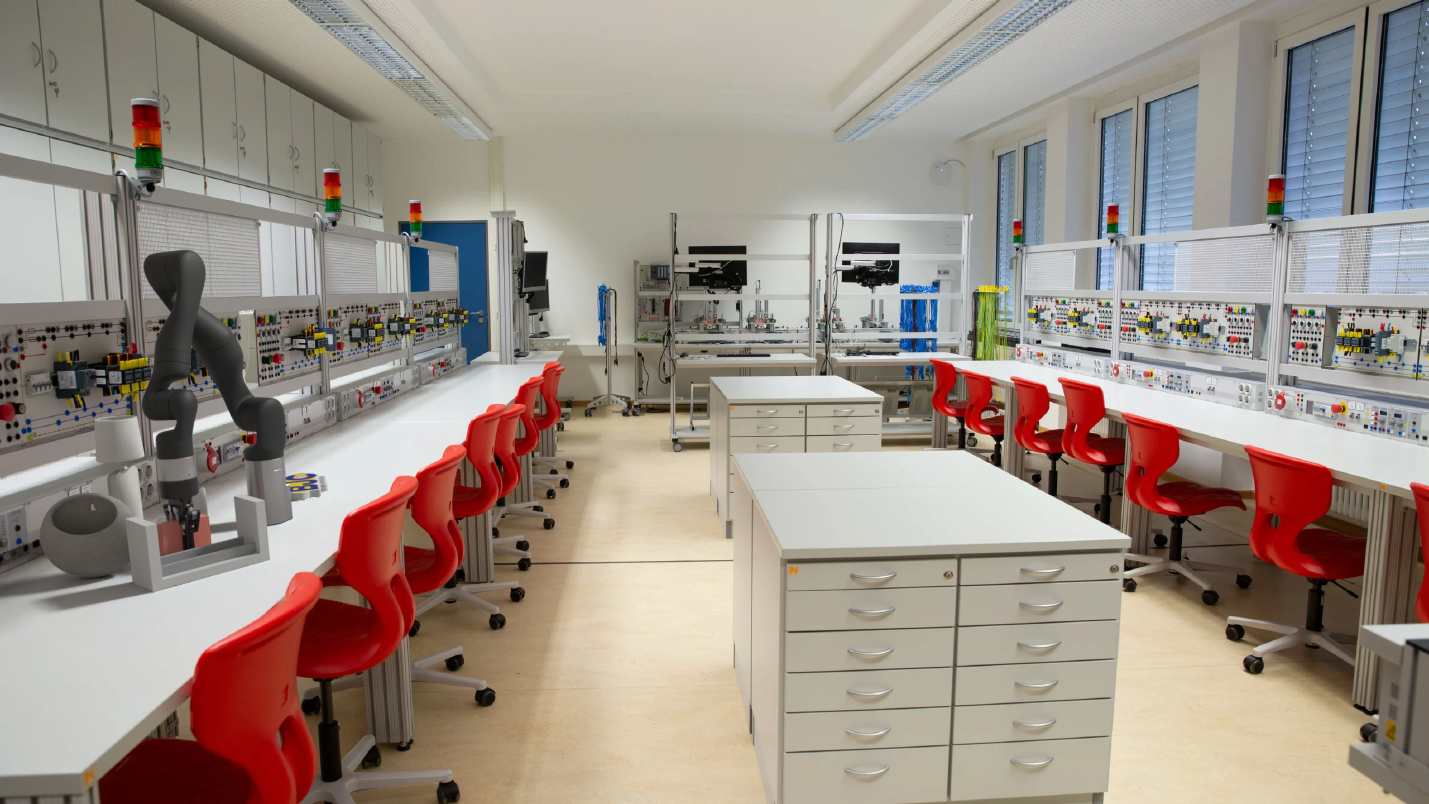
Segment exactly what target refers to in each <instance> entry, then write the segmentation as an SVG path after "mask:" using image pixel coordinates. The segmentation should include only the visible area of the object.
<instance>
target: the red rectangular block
mask: <svg viewBox="0 0 1429 804" xmlns="http://www.w3.org/2000/svg"><path fill="white" fill-rule="evenodd" d="M185 521H186V520H182V522H185ZM157 533H158V542H159V550H160V557H161V556H165V555H169V554H173V553H177V552H181V551H184V550H183V542H182V534H181V528H180V526H178V523H177V520H174V521H168V522H163V523H159V524H157ZM193 534H194V543H195V548H197V547H201V546H205V545H209V544H213V543H212V533H211V524H210V516H209V514H208V515H205V514H200V522H199V530H198V532H195V533H193Z"/></svg>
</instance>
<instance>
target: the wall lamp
mask: <svg viewBox="0 0 1429 804" xmlns="http://www.w3.org/2000/svg"><path fill="white" fill-rule="evenodd" d="M138 421H139V420H138V417H137V415H133V414H132V415H131V414H130V415H127V414H126V415H114V416H113V415H112V416H103V417H99V418H95V419H94V440H95V441H94V442H95V443H94V444H95V461H96V463H101V464H105V463H106V464H111V463H112V464H113V463H117V465H118V468H117V469H114V470H112V471H111V472H109V473H108V474H107V477H106V486H107V495H109V496H112V497H114V498H116V499H118V500H120V501H122V502H123V503H124V504H125V505H127V506H128V507H129V508H130V509H131V511H132V512H133V513H134V515H135V516H136V517H138V518H141V519H144V512H143V502H142V495H141V486H140V478H139V477H140V476H139V471H138V467H137V466H136V465H132V466H130V467H128V466H126V465H125V462H129V461H134V460H135V461H136V460H139V459H142V458H144V457H145V451H144V446H143V442H142V436H141V431H140V426H139V422H138ZM192 502H193V504H194V508H195V510H200V514H205V515H208V516H209V510H208V503H207V492H206V488H205V487H204V486H201V487H199V493H198V494H197V495H195V496H193V497H192ZM174 519H175V517H174ZM163 522H167V519H166V516H165V517H160V518H157V519H156V520H155V522H154V523H155V524H159V523H163Z"/></svg>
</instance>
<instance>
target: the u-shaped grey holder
mask: <svg viewBox="0 0 1429 804" xmlns="http://www.w3.org/2000/svg"><path fill="white" fill-rule="evenodd" d="M233 503H234V512H235V513H234V514H235V525H236V533H237V534H236V535H237V537H234V538H229V539H227V540H226V539H225V540H221V541H218V542H215V543H212V544H209V545H205V546H201V547H197V548H193V549H189V550H185V551H181V552H177V553H173V554H169V555H165V556H161V557H160V550H159V542H158V533H157V524H155V522H152V521H149V520H146V519H144V518H143V519H141V518H138V517H131V518H127V519H125V523H126V531H127V539H128V548H129V556H130V562H129V563H130V570H131V571H130V574H131V581H132V583H133V584H135V585H137V586H139V587H141V588H143V589H146V590H147V589H148V591H150V592H152V593H155V591H156V592H159V591H162V589H163V590H166V589H169V588H173V587H176V586H175V585H177V586H180V585H179V584H181V585H183V584H188V583H191V582H195V581H199V580H202V579H205V578H206V579H207V578H210V577H213V576H217V575H220V574H223V573H227V572H229V571H234V570H238V569H242V568H244V567H248V566H252V565H256V564H259V563H263V562H266V561H270V560H271V558H270V557H271V556H270V547H269V546H270V545H269V543H270V542H269V536H268V534H269V533H268V525H267V522H266V511H265V500H262V499H258V498H255V497H251V496H248V494H244V493H242V494H236V495H233ZM158 590H159V591H158Z"/></svg>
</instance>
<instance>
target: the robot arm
mask: <svg viewBox="0 0 1429 804" xmlns="http://www.w3.org/2000/svg"><path fill="white" fill-rule="evenodd" d="M143 273H144V275H145V278H146V281H147V282H148V284H149V285H150V287H151V288H152V290H153V291H154V293H155V294H156V295H157V297H158V298H159V299H160V301H162V303H163V304H164V306H165V307H166V308H167V309H168V311H169V312H170V313H169V315H168V317H167V318H166V320H165V321H164V323H163V324H162V327H161V328H160V330H159V332H158V333H157V337H156V340H155V344H154V353H153V354H154V356H153V370H152V371H151V372H152V373H151V375H150V378H149V381H148V384H147V387H146V388H145V391H144V394H143V397H142V399H141V411H142V413H143V414H144V416H145V417H146V418H147V419H149V420H151V421H153V422H159V421H160V422H162V421H176V422H175V426H174V428H172V429H168V430H163V431H161V432H159V433H157V434H156V436H155V449H156V457H157V462H156V465H157V466H156V467H157V468H156V470H157V479H158V488H159V495H160V498H161V499H162V500H166V501H167V502H168V503H164V504H162V508H163V511H164V514H165V517H166V519H167V522H168V521H174V520H177V523H178V526H180V528H181V534H182V542H183V550H184V551H185V550H189V549H193V548H195V543H194V534H193V533H195V532H198V530H199V522H200V510H195V508H194V504H193V502H192V497H193V496H195V495H197V494H198V493H199V488H200V487H199V480H198V479H199V478H198V468H197V463H196V458H195V453H194V452H195V451H194V445H193V444H194V443H193V434H194V429H195V428H194V427H195V422H196V417H197V414H198V407H199V401H198V398H197V397H196V396H197V395H195V393H194V392H193V391H191V390H190V389H186V388H175V389H174V388H173V389H172V388H171V389H169V388H170V386H171V385H172V384H173V383H176V382H179V381H182V380H186V379H187V378H189V377H190V374H191V363H192V362H191V361H192V360H191V359H192V348H193V351H194V352H195V353H196V355H197V356H198V358H199V360H200V362H201V363H202V365H203V366H204V367H205V369H206V371H207V372H208V374H209V376H210V377H211V379H212V381H213V383H214V385H215V386H216V388H217V390H218V392H219V394H220V395H221V398H222V400H223V402H224V403H225V406H226V408H227V411H228V413H229V415H230V417H231V419H232V421H233V423H234V425H236V426H237V427H238V429H240V430H241V431H243V432H248V433H255V435H256V436H255V439H256V440H255V442H254V444H252V445H249V446H247V447H246V448H244V450H243V459H244V471H245V480H246V481H245V482H246V489H247V491H246V492H247V496H251V497H255V498H258V499H262V500H265V511H266V522H267V526H271V525H277V524H281V523H282V524H283V523H285V522H287V521H288V520H290V519H291V520H292V519H294V516H293V504H292V500H291V491H290V484H289V483H286V476H287V475H286V465H285V447H286V443H287V435H286V412H285V410H284V406H283V405H282V402H281V401H280V400H278V399H277V398H274V397H266V396H264V397H263V396H261V397H260V396H255V395H254V394H253V393H252V392H251V390H250V389H249V388H248V386H247V383H246V382H245V379H244V377H243V369H244V368H243V367H244V353H243V349H242V347H241V345H240V344H239V342H238V340H237V338H236V336H235V334H234V333H233V331H232V330H231V328H230V327H229V326H228V325H227V324H226V323H225V322H223V321H222V320H220V318H218V317H216V316H215V315H214V314H213V313H211V312H210V311H208V310H206V309H205V308H204V307H203V306H201V301H202V296H203V291H204V287H205V282H206V274H207V270H206V264H205V262H204V260H203V259H202V257H201V255H199V254H198V253H197V252H195V251H194V250H191V249H179V250H176V249H175V250H172V251H171V250H170V251H169V250H168V251H161V252H160V251H159V252H154V253H151V254H149V255H147V256H146V257H145V259H144V261H143ZM174 517H175V519H174ZM182 520H186V521H185V522H182Z"/></svg>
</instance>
